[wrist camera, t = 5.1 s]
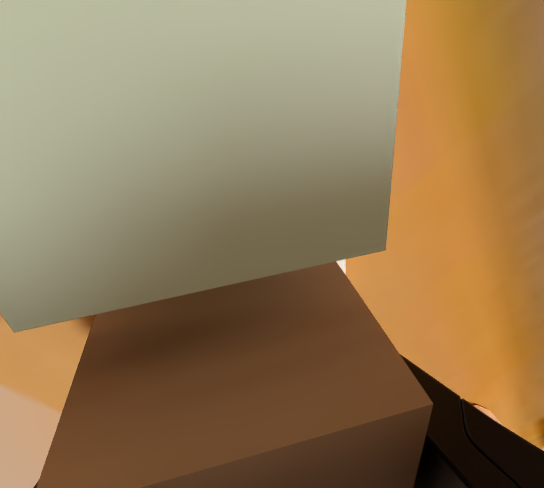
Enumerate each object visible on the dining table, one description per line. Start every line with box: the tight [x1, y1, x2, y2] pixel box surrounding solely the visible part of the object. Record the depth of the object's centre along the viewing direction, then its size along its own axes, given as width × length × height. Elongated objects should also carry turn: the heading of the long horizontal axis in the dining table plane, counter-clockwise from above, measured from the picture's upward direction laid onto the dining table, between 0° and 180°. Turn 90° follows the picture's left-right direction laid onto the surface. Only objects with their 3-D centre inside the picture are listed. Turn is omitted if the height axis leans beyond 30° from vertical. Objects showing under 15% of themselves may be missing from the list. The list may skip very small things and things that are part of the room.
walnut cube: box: [37, 261, 433, 488], centre depth 8 cm, size 5×5×5 cm
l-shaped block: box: [0, 0, 406, 332], centre depth 8 cm, size 12×8×7 cm, turn 6°
